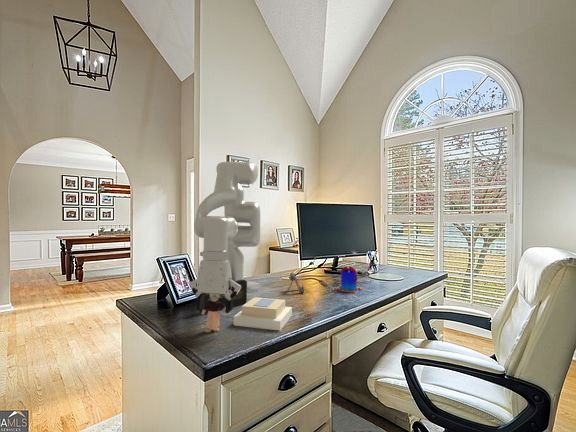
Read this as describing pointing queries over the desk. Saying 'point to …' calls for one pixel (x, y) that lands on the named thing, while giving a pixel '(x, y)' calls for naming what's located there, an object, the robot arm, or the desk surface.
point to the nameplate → (237, 300)
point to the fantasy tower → (348, 280)
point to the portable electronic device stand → (292, 277)
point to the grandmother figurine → (213, 313)
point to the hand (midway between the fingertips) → (214, 310)
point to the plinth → (263, 320)
